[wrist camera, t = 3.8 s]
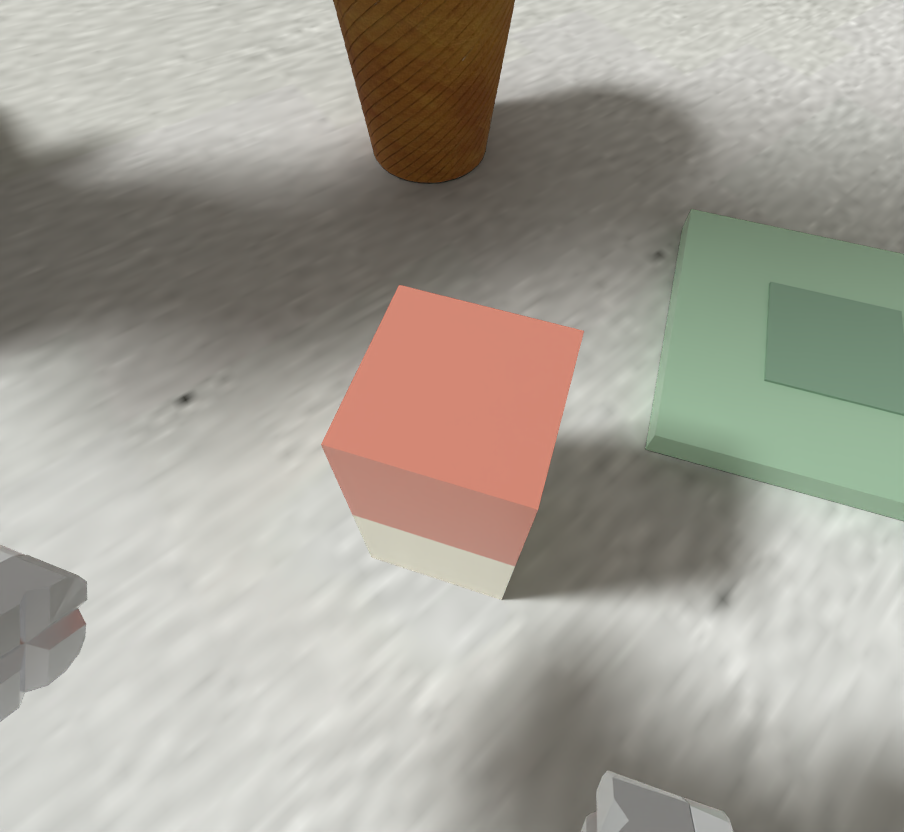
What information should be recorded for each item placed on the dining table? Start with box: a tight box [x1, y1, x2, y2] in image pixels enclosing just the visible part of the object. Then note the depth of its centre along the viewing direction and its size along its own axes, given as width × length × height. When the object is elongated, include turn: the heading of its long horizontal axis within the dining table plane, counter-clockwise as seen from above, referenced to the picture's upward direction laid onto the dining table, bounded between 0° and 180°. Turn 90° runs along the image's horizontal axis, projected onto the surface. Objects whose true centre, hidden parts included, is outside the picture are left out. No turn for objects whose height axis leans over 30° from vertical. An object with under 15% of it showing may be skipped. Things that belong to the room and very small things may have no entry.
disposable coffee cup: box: [333, 0, 515, 183], centre depth 26 cm, size 10×10×12 cm
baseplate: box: [645, 209, 904, 521], centre depth 23 cm, size 13×13×1 cm
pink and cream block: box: [321, 285, 584, 600], centre depth 17 cm, size 5×5×9 cm
